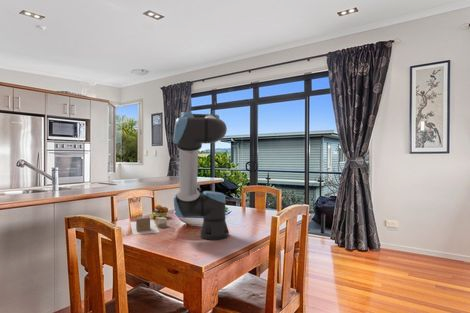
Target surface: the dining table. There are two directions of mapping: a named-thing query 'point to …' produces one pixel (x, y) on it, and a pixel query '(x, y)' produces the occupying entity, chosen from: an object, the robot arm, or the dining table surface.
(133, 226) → the placemat
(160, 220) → the maple block
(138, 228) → the walnut block
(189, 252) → the dining table surface
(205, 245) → the dining table surface
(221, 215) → the robot arm
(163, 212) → the cheeseburger
